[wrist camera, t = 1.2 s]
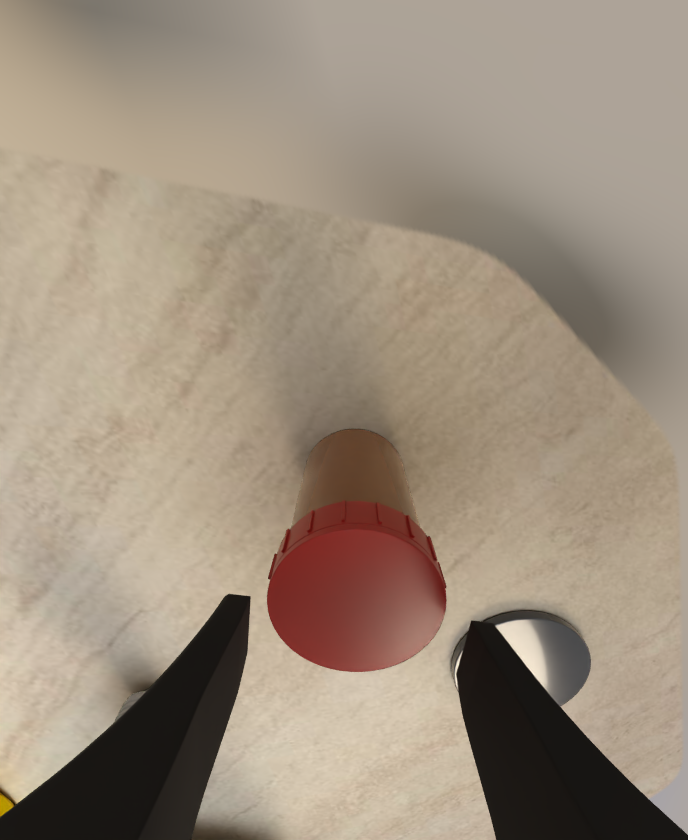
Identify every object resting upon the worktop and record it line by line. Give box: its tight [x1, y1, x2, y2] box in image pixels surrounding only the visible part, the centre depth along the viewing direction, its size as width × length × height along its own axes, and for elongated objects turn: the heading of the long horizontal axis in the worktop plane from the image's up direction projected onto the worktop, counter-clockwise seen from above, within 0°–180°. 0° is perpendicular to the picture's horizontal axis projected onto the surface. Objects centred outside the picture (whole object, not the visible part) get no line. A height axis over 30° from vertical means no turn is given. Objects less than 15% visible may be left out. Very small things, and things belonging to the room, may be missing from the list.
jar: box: [291, 429, 420, 528], centre depth 17 cm, size 5×5×8 cm
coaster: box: [452, 611, 591, 706], centre depth 24 cm, size 8×8×1 cm
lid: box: [267, 500, 446, 672], centre depth 13 cm, size 6×6×2 cm
